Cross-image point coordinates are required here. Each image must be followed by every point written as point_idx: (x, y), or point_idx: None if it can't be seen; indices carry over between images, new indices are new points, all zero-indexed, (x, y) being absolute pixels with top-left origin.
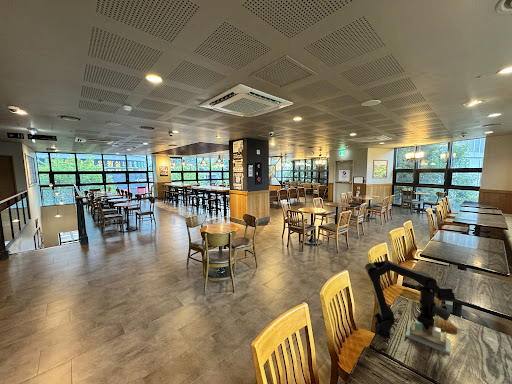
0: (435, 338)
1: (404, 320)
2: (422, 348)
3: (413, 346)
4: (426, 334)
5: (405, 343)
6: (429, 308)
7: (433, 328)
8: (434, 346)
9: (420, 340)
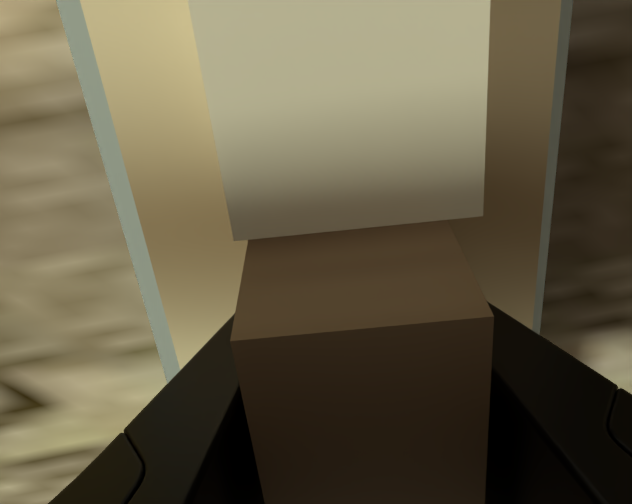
0: (553, 44)
1: (52, 485)
2: (583, 172)
3: (615, 275)
4: (507, 246)
5: (610, 359)
6: None
7: (395, 202)
8: (569, 20)
9: (547, 256)
